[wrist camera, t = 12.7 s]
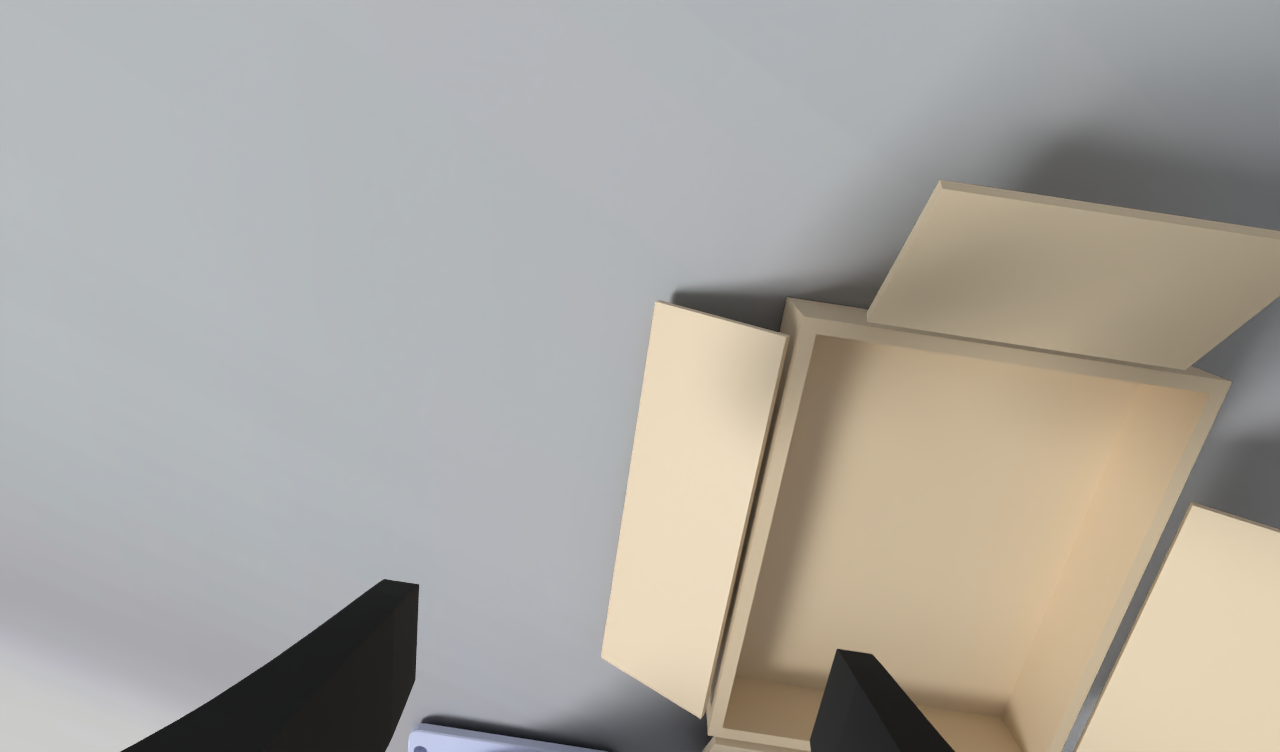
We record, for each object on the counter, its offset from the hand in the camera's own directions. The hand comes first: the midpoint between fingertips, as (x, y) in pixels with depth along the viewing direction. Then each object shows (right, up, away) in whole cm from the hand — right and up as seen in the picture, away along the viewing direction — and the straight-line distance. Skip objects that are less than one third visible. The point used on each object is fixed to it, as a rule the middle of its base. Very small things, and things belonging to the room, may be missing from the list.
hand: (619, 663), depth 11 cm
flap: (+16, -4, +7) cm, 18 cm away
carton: (+7, -2, +11) cm, 13 cm away
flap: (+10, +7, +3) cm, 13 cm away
